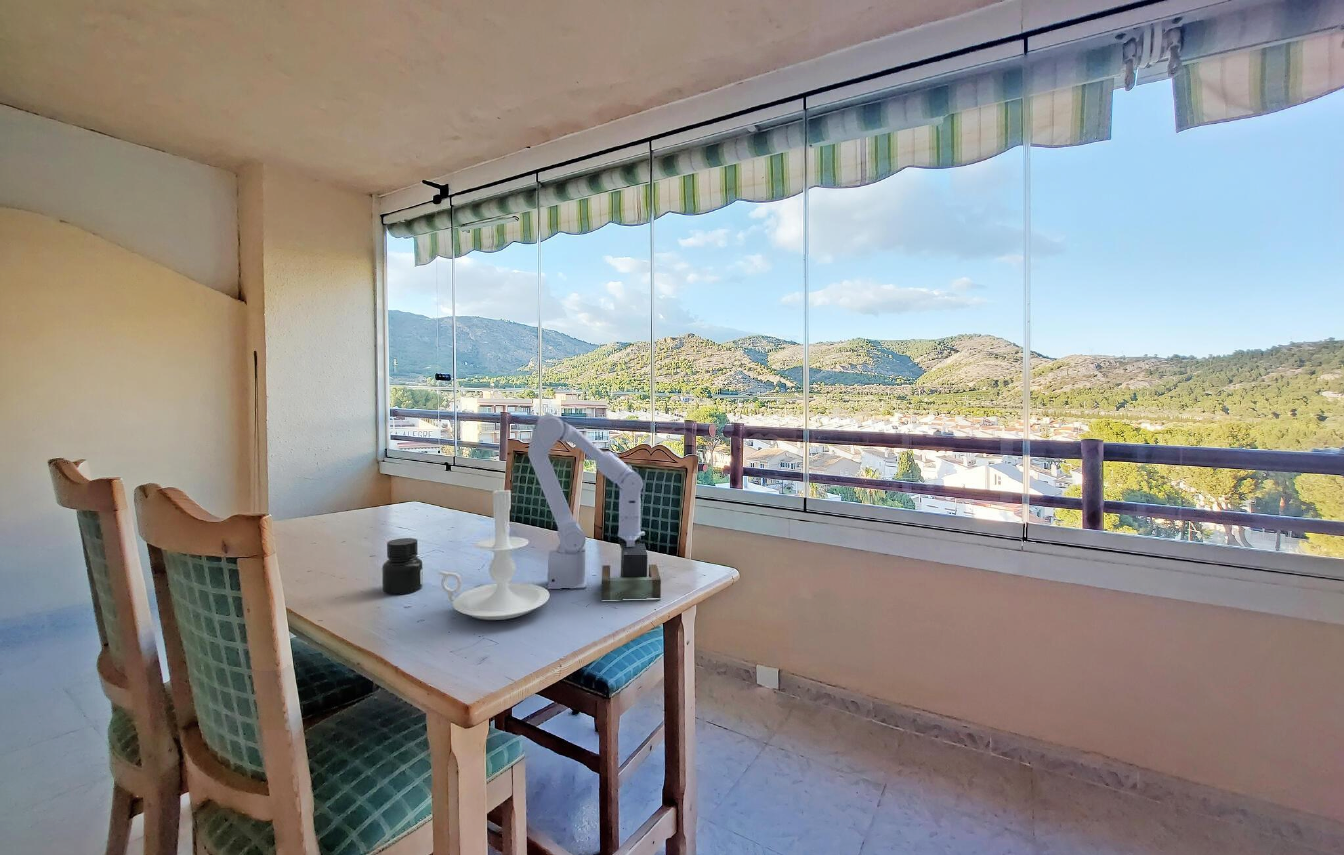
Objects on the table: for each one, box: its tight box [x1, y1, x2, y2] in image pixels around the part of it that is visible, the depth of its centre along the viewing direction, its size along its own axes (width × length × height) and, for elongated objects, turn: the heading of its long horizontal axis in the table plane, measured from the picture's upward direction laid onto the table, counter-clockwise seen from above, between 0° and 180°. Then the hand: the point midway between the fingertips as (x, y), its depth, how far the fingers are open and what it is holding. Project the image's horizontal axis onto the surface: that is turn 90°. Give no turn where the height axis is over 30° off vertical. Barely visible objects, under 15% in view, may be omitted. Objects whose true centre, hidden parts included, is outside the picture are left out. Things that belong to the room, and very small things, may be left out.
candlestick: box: [438, 487, 550, 621], centre depth 122 cm, size 21×25×28 cm
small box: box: [620, 542, 648, 578], centre depth 138 cm, size 11×6×10 cm, turn 7°
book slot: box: [601, 564, 662, 601], centre depth 136 cm, size 14×12×5 cm
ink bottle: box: [381, 537, 424, 595], centre depth 136 cm, size 10×9×12 cm
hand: (629, 566), depth 146 cm, fingers closed
